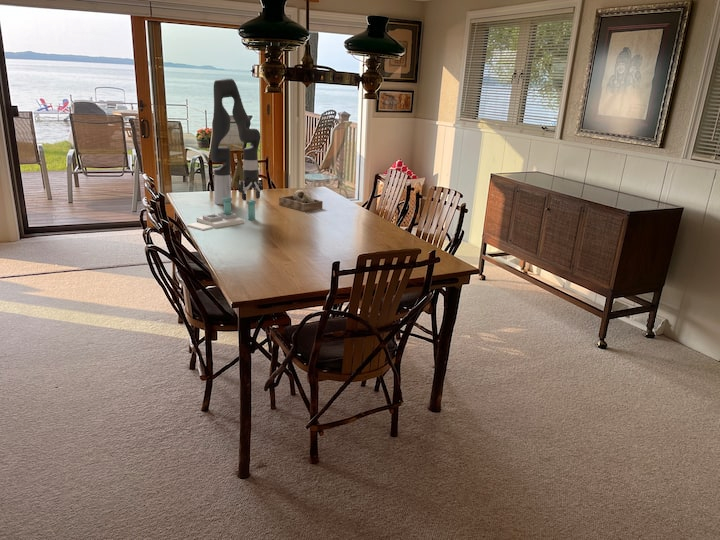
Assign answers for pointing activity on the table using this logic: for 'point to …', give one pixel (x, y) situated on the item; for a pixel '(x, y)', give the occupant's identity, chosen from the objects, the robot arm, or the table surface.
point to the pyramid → (237, 176)
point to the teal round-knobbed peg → (251, 209)
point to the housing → (220, 220)
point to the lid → (199, 226)
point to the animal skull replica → (303, 196)
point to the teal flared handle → (227, 205)
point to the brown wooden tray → (300, 204)
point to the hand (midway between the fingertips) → (251, 199)
